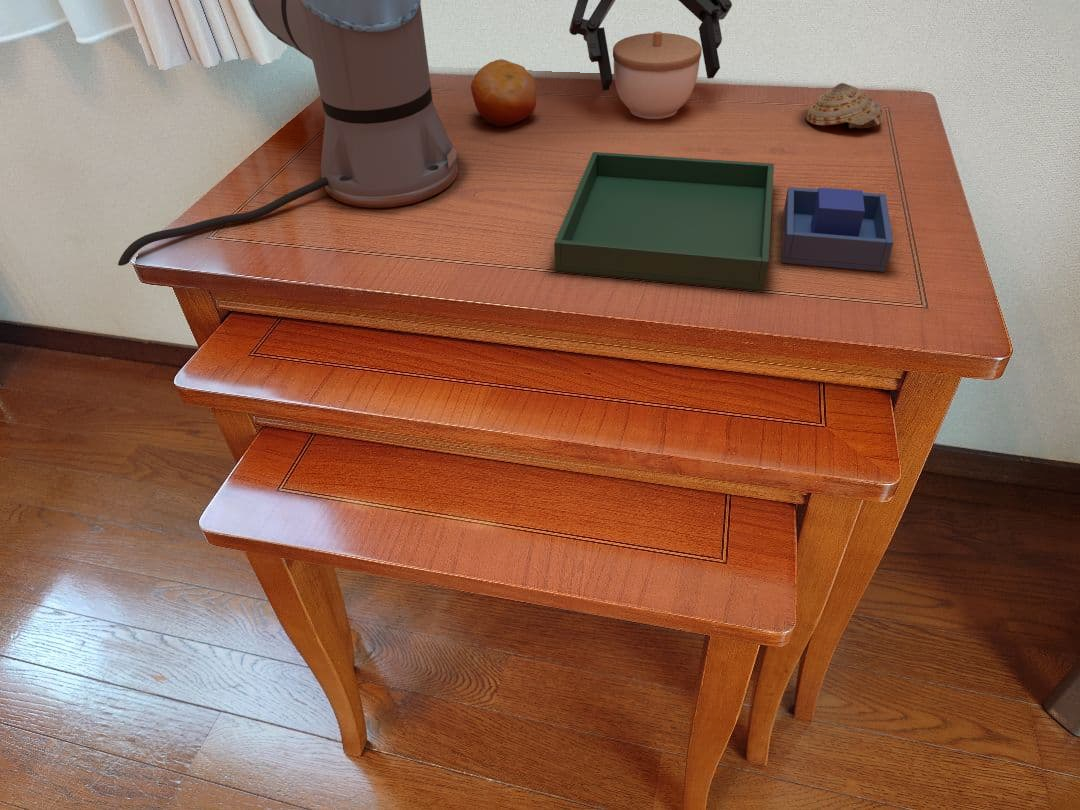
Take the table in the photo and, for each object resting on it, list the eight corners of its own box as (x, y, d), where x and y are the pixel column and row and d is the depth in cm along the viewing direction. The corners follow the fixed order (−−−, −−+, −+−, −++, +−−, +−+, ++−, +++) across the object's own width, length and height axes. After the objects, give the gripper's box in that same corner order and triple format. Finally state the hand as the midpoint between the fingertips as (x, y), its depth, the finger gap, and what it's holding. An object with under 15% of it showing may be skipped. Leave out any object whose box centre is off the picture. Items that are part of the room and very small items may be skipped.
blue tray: (781, 263, 75) (786, 233, 73) (783, 214, 82) (788, 186, 80) (885, 272, 73) (893, 242, 71) (878, 222, 80) (885, 193, 78)
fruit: (504, 87, 106) (519, 41, 99) (535, 133, 105) (553, 89, 98) (452, 104, 103) (464, 57, 96) (484, 151, 102) (498, 107, 94)
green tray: (555, 271, 76) (554, 242, 74) (592, 178, 89) (592, 151, 87) (763, 291, 72) (768, 261, 70) (769, 190, 86) (774, 163, 84)
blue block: (811, 245, 76) (819, 207, 73) (810, 224, 79) (818, 187, 76) (855, 249, 75) (865, 210, 73) (853, 227, 78) (862, 190, 75)
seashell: (876, 124, 91) (819, 84, 93) (847, 162, 96) (794, 124, 97) (900, 100, 96) (846, 62, 97) (872, 137, 101) (820, 101, 102)
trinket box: (693, 128, 98) (700, 49, 92) (606, 125, 100) (607, 46, 93) (698, 95, 106) (705, 19, 99) (617, 92, 107) (619, 17, 101)
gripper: (718, -77, 104) (746, 82, 103) (530, -60, 101) (558, 103, 100) (739, -118, 96) (769, 53, 95) (536, -101, 94) (565, 75, 93)
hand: (661, 79), depth 98 cm, fingers open, 13 cm apart
